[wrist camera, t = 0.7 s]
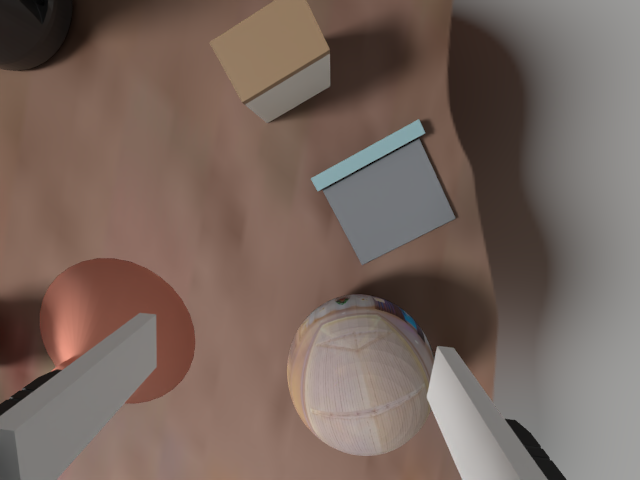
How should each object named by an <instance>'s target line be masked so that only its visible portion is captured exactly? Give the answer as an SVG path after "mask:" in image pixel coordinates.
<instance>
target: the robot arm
mask: <svg viewBox="0 0 640 480" xmlns="http://www.w3.org/2000/svg"><path fill="white" fill-rule="evenodd" d="M71 17H72V0H0V69H4V70H13V71H15V70H26V69H30V68H33V67H36V66H38V65H40V64H42V63H44V62H45V61H47V60H48V59H49V58H50V57H52V56H53V55H54V54H55V53H56V51H57V50H58V49H59V48H60V46H61V45H62V43H63V41H64V39H65V37H66V35H67V32H68V30H69V26H70V22H71ZM156 367H157V347H156V314H147V313H139V314H137V315H136V316H135V317H133V318H132V319H131V320H129V321H128V322H127V323H125V324H124V325H123V326H121V327H120V328H119V329H117V330H116V331H114V332H113V333H112V334H110V335H109V336H108V337H106V338H105V339H104V340H102V341H101V342H100V343H98V344H97V345H96V346H94V347H93V348H91V349H90V350H89V351H87V352H86V353H85V354H83V355H82V356H81V357H79V358H78V359H77V360H75V361H74V362H73V363H71V364H70V365H68V366H67V367H66V368H64V369H63V370H59V369H56V370H54V371H52V372H49V373H47V374H45V375H43V376H41V377H38V378H37V379H35V380H34V381H33V382H31V383H30V384H28V385H27V386H25V387H24V388H23V389H22V391H18V392H17V393H16V394H14V395H13V396H11V397H10V399H9V400H6V401H4V402H3V403H1V404H0V480H57V478H58V477H59V476H60V475H61V474H62V473H63V472H64V471H65V469H66V468H67V467H68V466H69V465H70V464H71V463H72V462H73V460H74V459H75V458H76V457H77V456H78V455H79V454H80V453H81V451H82V450H83V449H84V448H85V447H86V446H87V445H88V444H89V442H90V441H91V440H92V439H93V438H94V437H95V436H96V435H97V433H98V432H99V431H100V430H101V429H102V428H103V427H104V426H105V424H106V423H107V422H108V421H109V420H110V419H111V418H112V417H113V415H114V414H115V413H116V412H117V411H118V410H119V409H120V408H121V406H122V405H123V404H124V403H125V402H126V401H127V400H128V399H129V397H130V396H131V395H132V394H133V393H134V392H135V391H136V390H137V388H138V387H139V386H140V385H141V384H142V383H143V382H144V381H145V379H146V378H147V377H148V376H149V375H150V374H151V373H152V372H153V370H154V369H155V368H156ZM427 399H428V402H429V404H430V406H431V409H432V411H433V413H434V416H435V418H436V420H437V422H438V425H439V427H440V429H441V432H442V434H443V436H444V439H445V441H446V443H447V445H448V448H449V450H450V452H451V455H452V457H453V459H454V462H455V464H456V466H457V468H458V471H459V473H460V475H461V478H462V480H566V478H565V477H564V476H563V475H562V473H561V472H560V471H559V469H558V468H557V467H556V465H555V464H554V463H553V462H552V461H551V460H550V459H549V456H548V455H547V454H546V453H545V451H544V450H543V449H541V446H540V445H539V444H538V442H537V441H536V440H535V438H534V437H533V436H532V434H531V433H530V432H529V431H528V430H526V429H525V428H524V427H523V426H522V425H520V424H519V423H518V422H517V421H516V420H510V419H504V418H503V416H502V415H501V413H500V412H499V411H498V409H497V408H496V406H495V405H494V404H493V402H492V401H491V399H490V398H489V397H488V395H487V394H486V392H485V391H484V390H483V388H482V387H481V385H480V384H479V383H478V381H477V380H476V378H475V377H474V375H473V374H472V373H471V371H470V370H469V368H468V367H467V366H466V364H465V363H464V361H463V360H462V359H461V357H460V356H459V354H458V353H457V352H456V350H455V349H454V348H451V347H442V346H437V350H436V355H435V359H434V364H433V369H432V374H431V379H430V383H429V388H428V393H427Z"/></svg>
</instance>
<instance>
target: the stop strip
mask: <svg viewBox="0 0 640 480" xmlns="http://www.w3.org/2000/svg"><path fill="white" fill-rule="evenodd" d="M423 134H425V131H424V129H423V127H422V125H421V123H420V120H419V119H418V120H417V121H415V122H413V123H411V124H409V125H407V126H406V127H404V128H402V129H400V130H398V131H397V132H395V133H393V134H391V135H389V136H387V137H386V138H384V139H382V140H380V141H378V142H376V143H375V144H373V145H371V146H369V147H367V148H366V149H364V150H362V151H360V152H358V153H356V154H355V155H353V156H351V157H349V158H347V159H346V160H344V161H342V162H340V163H338V164H336V165H335V166H333V167H331V168H329V169H327V170H326V171H324V172H322V173H320V174H318V175H316V176H315V177H313V178H311V180H312V182H313V184H314V185H315V187H316V189H317V191H319V190H321V189H323V188H325V187H327V186H329V185H330V184H332V183H334V182H336V181H338V180H340V179H342V178H343V177H345V176H347V175H349V174H351V173H353V172H354V171H356V170H358V169H360V168H362V167H364V166H366V165H367V164H369V163H371V162H373V161H375V160H377V159H379V158H380V157H382V156H384V155H386V154H388V153H390V152H391V151H393V150H395V149H397V148H399V147H401V146H403V145H404V144H406V143H408V142H410V141H412V140H414V139H415V138H417V137H419V136H421V135H423Z"/></svg>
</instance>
